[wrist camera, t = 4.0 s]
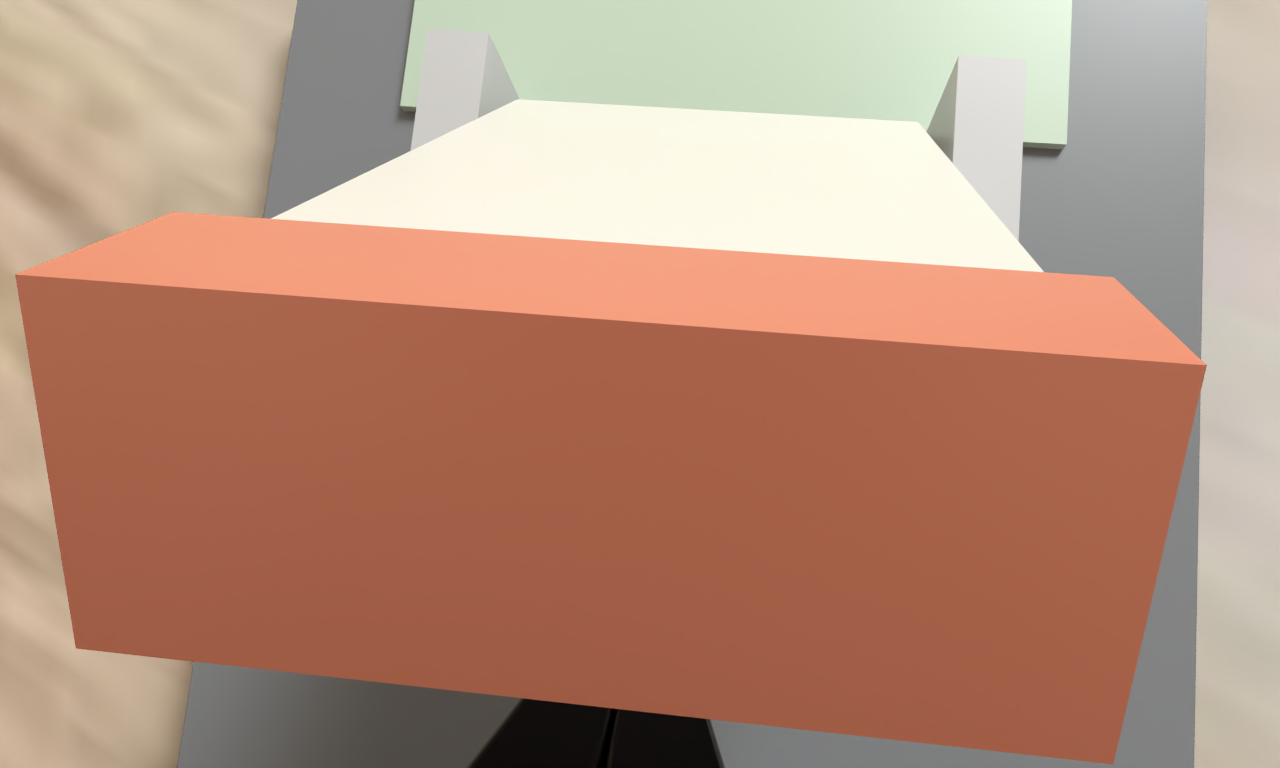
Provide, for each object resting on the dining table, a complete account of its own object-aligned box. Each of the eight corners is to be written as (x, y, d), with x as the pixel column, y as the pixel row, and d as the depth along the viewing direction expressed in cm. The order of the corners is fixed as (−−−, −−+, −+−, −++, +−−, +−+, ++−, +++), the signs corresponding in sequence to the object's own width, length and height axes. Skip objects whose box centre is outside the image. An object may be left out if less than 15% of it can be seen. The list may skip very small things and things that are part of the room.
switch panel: (1148, 1282, 15) (1315, 1568, 11) (158, 1127, 16) (-50, 1324, 12) (1176, 30, 18) (1316, -144, 14) (331, -10, 19) (213, -179, 15)
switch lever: (908, 261, 14) (1113, 764, 5) (510, 234, 15) (76, 648, 6) (928, 101, 14) (1209, 364, 5) (509, 78, 14) (13, 274, 5)
